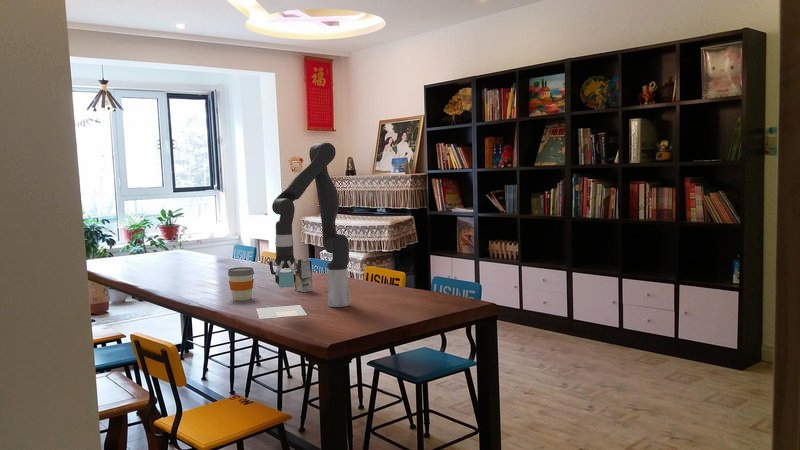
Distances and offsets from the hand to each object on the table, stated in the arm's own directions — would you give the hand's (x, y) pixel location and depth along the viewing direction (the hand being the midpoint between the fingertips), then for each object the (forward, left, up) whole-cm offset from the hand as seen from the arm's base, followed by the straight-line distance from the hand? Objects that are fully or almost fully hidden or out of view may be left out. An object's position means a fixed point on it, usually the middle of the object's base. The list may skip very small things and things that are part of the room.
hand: (285, 283), depth 264 cm
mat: (+2, -6, -14) cm, 15 cm away
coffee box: (-15, -57, -14) cm, 61 cm away
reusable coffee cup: (+17, -47, -14) cm, 52 cm away
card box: (0, 0, -1) cm, 1 cm away
